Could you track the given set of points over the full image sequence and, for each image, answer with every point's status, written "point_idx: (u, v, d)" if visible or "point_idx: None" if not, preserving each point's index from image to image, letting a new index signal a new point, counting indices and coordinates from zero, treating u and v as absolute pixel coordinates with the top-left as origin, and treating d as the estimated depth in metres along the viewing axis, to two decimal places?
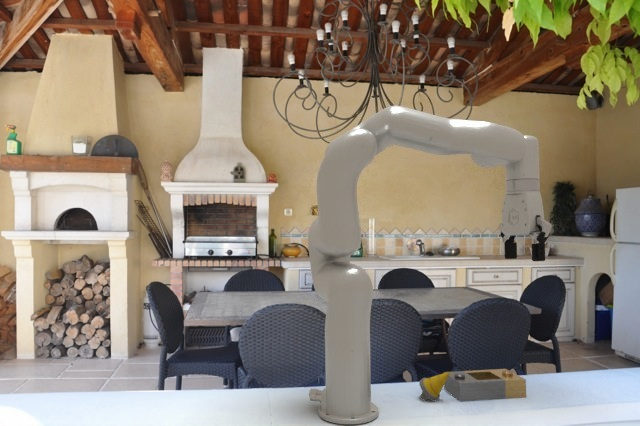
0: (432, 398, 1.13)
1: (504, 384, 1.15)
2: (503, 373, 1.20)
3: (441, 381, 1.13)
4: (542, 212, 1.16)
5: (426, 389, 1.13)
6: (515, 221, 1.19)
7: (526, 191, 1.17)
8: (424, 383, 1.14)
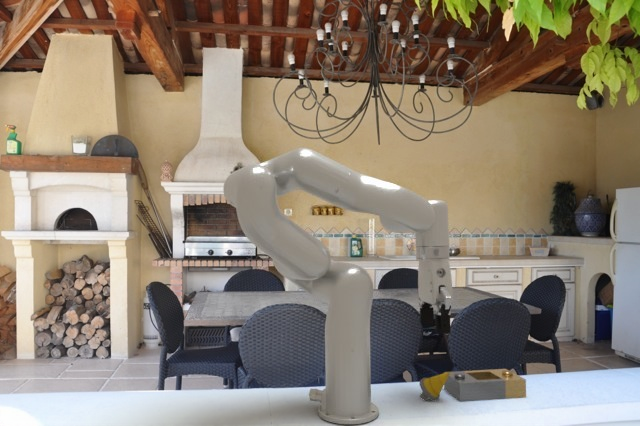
0: (432, 398, 1.13)
1: (504, 384, 1.15)
2: (503, 373, 1.20)
3: (441, 381, 1.13)
4: None
5: (427, 389, 1.13)
6: None
7: None
8: (424, 383, 1.14)
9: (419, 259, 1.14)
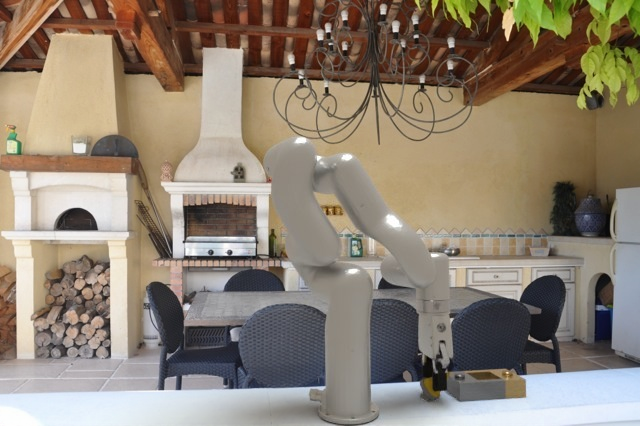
0: (432, 398, 1.13)
1: (504, 384, 1.15)
2: (503, 373, 1.20)
3: None
4: None
5: (427, 389, 1.13)
6: None
7: None
8: (424, 383, 1.14)
9: (419, 312, 1.14)
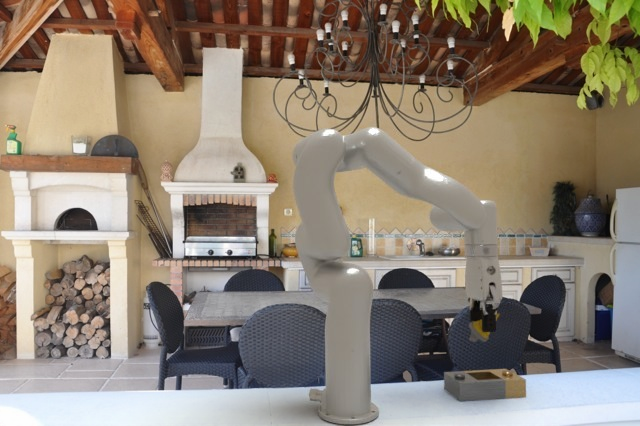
0: (482, 339, 1.17)
1: (504, 384, 1.15)
2: (503, 373, 1.20)
3: None
4: None
5: (476, 330, 1.17)
6: None
7: None
8: (474, 325, 1.18)
9: (469, 257, 1.18)
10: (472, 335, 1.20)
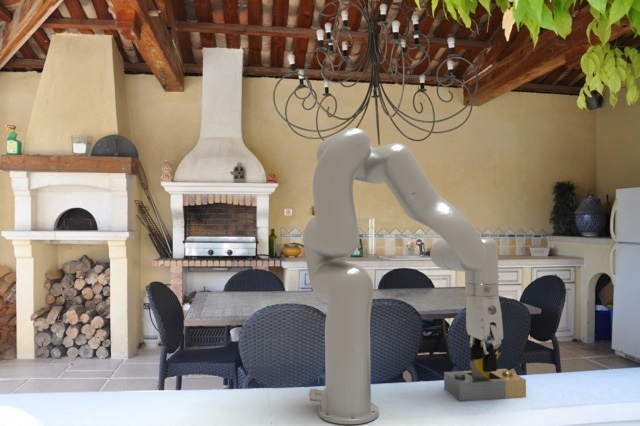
0: (483, 378, 1.17)
1: (504, 384, 1.15)
2: (503, 373, 1.20)
3: None
4: None
5: (477, 369, 1.17)
6: None
7: None
8: (474, 364, 1.18)
9: (469, 296, 1.18)
10: (473, 374, 1.19)
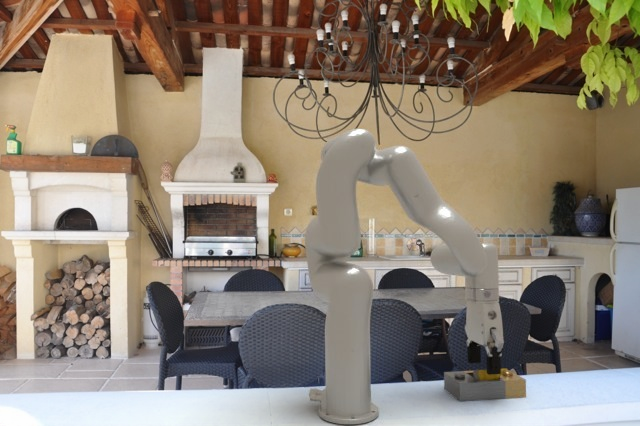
0: None
1: (504, 384, 1.15)
2: (503, 373, 1.20)
3: (495, 375, 1.16)
4: None
5: (479, 378, 1.17)
6: None
7: None
8: (478, 372, 1.18)
9: (470, 300, 1.18)
10: None
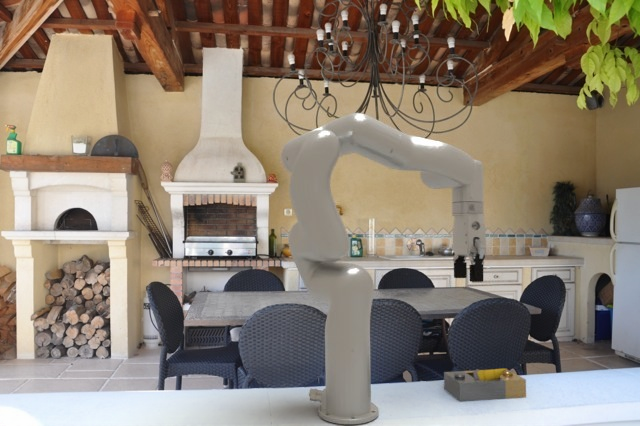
0: None
1: (504, 384, 1.15)
2: (503, 373, 1.20)
3: (495, 375, 1.16)
4: None
5: (479, 378, 1.17)
6: None
7: None
8: (478, 372, 1.18)
9: (455, 214, 1.23)
10: None
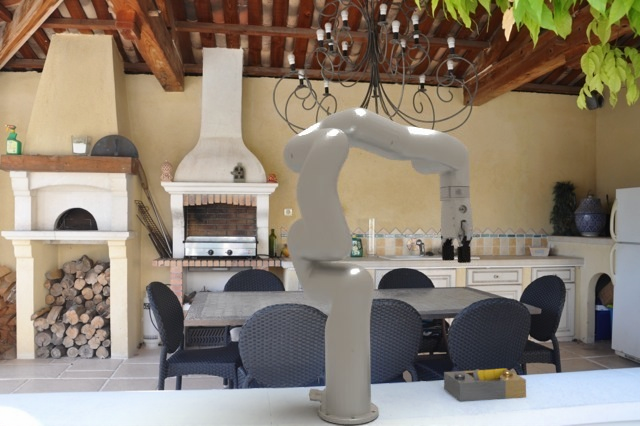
0: None
1: (504, 384, 1.15)
2: (503, 373, 1.20)
3: (495, 375, 1.16)
4: None
5: (479, 378, 1.17)
6: None
7: None
8: (478, 372, 1.18)
9: (443, 198, 1.28)
10: None
